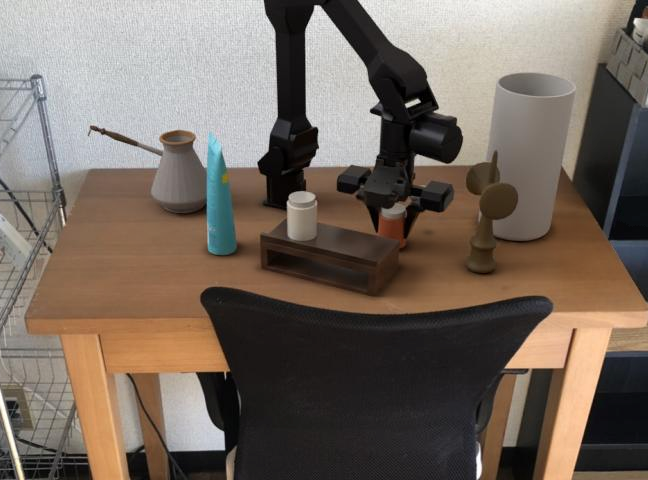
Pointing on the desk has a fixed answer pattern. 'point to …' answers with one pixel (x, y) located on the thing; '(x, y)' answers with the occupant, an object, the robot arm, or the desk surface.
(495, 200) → the kendama
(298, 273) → the shelf
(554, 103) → the cylinder vase
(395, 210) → the orange lidded jar
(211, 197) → the tube
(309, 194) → the white lidded jar
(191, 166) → the coffee pot
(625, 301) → the desk surface
